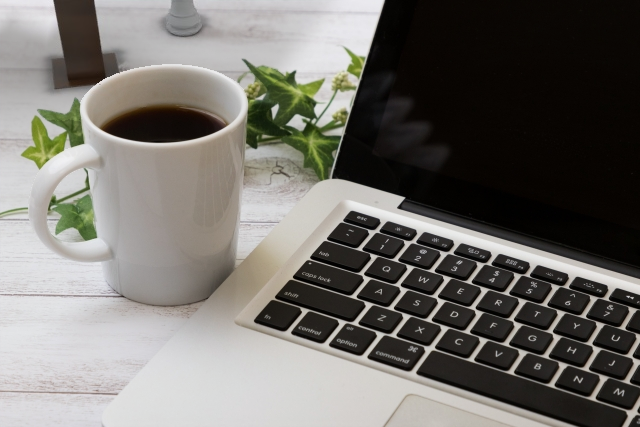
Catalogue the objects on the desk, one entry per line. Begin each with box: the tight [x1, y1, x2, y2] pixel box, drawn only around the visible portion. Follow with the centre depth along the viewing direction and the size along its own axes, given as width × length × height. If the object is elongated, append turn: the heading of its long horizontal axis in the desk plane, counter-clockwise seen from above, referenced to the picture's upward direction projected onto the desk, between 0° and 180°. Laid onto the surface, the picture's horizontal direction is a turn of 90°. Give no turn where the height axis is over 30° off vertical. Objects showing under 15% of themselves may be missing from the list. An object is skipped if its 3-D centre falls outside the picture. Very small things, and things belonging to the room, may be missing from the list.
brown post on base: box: [51, 0, 120, 90], centre depth 80 cm, size 14×7×18 cm, turn 17°
